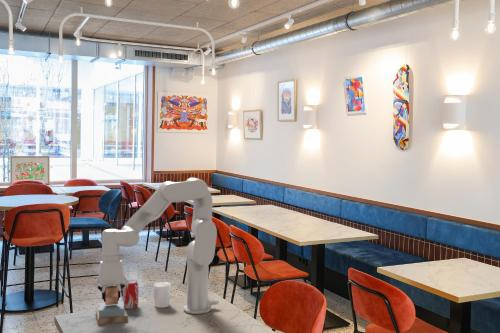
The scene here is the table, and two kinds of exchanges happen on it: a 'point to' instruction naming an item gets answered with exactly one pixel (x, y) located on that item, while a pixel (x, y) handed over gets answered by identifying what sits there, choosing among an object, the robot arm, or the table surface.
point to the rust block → (111, 294)
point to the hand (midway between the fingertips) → (111, 299)
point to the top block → (111, 310)
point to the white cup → (161, 294)
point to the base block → (111, 318)
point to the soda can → (131, 294)
